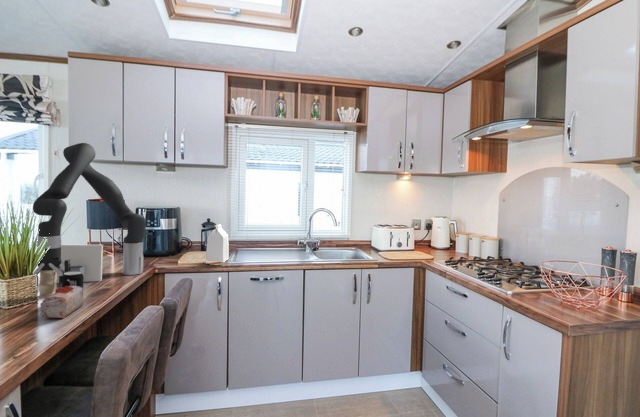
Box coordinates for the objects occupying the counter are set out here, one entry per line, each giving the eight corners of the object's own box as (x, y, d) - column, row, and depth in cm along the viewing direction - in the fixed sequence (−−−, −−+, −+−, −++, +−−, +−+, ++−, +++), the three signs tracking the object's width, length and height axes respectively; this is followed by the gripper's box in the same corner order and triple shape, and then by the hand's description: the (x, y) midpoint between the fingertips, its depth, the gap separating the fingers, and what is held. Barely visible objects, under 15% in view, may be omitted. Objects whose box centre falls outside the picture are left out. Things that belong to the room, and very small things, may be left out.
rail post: (56, 293, 128) (56, 268, 127) (51, 296, 124) (52, 270, 124) (44, 294, 126) (45, 268, 126) (39, 297, 122) (40, 271, 122)
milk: (222, 265, 193) (224, 226, 192) (205, 264, 193) (206, 225, 192) (228, 262, 205) (230, 224, 204) (212, 261, 205) (213, 223, 204)
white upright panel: (101, 279, 150) (102, 244, 150) (94, 286, 140) (95, 248, 139) (57, 281, 144) (58, 244, 143) (45, 288, 133) (46, 248, 132)
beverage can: (59, 306, 115) (60, 275, 114) (64, 300, 120) (65, 271, 120) (80, 304, 118) (81, 274, 117) (84, 298, 124) (85, 270, 123)
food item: (65, 320, 103) (65, 292, 103) (37, 321, 101) (38, 292, 101) (85, 306, 116) (86, 281, 116) (61, 307, 114) (62, 281, 114)
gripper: (73, 244, 130) (72, 281, 131) (32, 245, 125) (31, 283, 126) (66, 247, 123) (65, 286, 124) (22, 248, 118) (21, 288, 119)
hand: (48, 284), depth 125 cm, fingers open, 8 cm apart
